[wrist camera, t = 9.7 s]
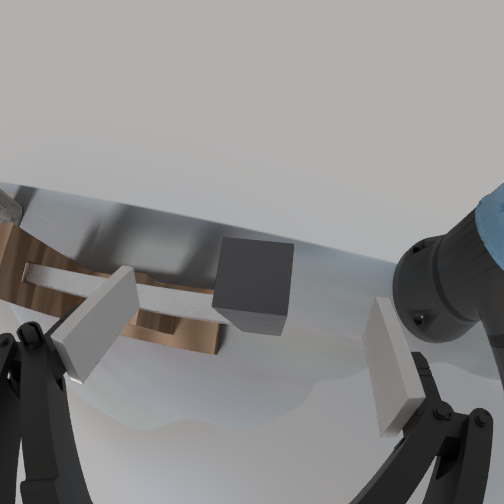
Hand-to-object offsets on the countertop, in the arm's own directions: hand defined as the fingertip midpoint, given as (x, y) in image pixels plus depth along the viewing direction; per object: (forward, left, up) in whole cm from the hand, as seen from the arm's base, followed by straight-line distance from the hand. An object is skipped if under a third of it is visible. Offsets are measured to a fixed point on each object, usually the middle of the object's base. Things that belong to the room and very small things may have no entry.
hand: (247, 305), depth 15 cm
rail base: (+21, -1, -22) cm, 30 cm away
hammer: (+12, -1, -9) cm, 15 cm away
